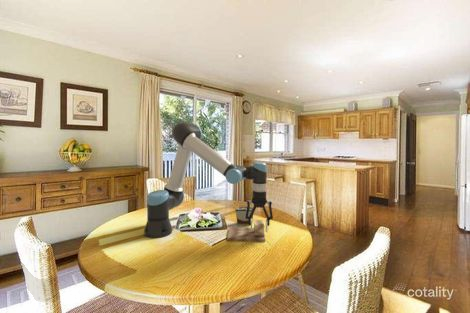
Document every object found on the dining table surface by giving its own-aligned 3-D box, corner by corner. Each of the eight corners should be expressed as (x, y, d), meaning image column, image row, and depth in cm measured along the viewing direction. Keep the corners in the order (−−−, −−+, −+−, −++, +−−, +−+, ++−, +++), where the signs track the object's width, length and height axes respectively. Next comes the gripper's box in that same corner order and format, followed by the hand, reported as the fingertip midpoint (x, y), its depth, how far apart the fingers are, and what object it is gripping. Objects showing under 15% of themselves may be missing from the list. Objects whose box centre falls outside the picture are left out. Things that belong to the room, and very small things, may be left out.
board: (227, 240, 126) (227, 238, 126) (229, 229, 142) (229, 227, 142) (265, 241, 125) (265, 239, 125) (263, 230, 141) (263, 228, 141)
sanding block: (254, 236, 128) (254, 225, 128) (254, 230, 137) (254, 220, 137) (263, 236, 128) (264, 225, 128) (262, 230, 137) (262, 220, 137)
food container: (254, 221, 156) (254, 206, 155) (254, 224, 150) (254, 209, 149) (235, 220, 157) (235, 205, 156) (234, 224, 151) (234, 208, 150)
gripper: (240, 191, 128) (240, 233, 130) (279, 192, 127) (278, 234, 129) (240, 188, 136) (240, 228, 137) (277, 189, 135) (276, 229, 136)
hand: (258, 231), depth 133 cm, fingers open, 8 cm apart
